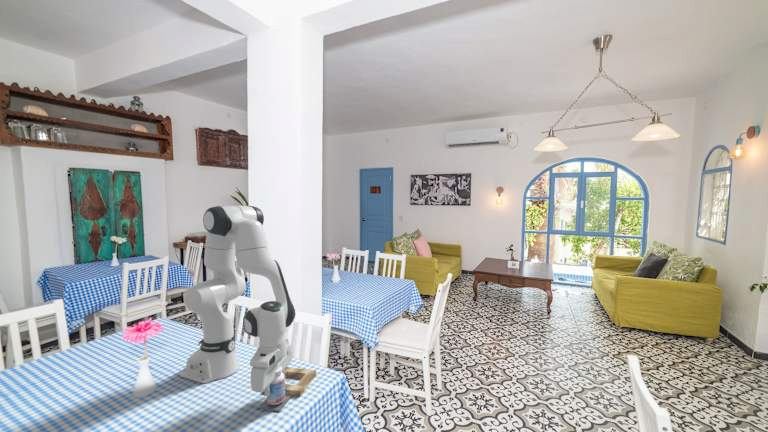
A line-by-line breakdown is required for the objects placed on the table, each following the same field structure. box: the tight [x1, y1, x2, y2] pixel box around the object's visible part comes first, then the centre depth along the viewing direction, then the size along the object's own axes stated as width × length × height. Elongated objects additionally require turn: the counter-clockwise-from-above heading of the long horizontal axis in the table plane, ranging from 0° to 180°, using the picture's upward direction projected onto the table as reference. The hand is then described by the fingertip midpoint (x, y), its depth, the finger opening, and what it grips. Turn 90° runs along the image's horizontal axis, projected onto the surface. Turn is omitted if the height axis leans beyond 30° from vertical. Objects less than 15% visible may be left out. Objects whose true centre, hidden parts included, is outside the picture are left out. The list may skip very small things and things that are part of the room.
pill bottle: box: [266, 367, 286, 405], centre depth 108 cm, size 6×6×11 cm
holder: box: [284, 366, 317, 397], centre depth 120 cm, size 14×14×2 cm
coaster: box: [257, 395, 292, 413], centre depth 108 cm, size 8×8×1 cm
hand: (274, 388), depth 108 cm, fingers closed on pill bottle, 6 cm apart
